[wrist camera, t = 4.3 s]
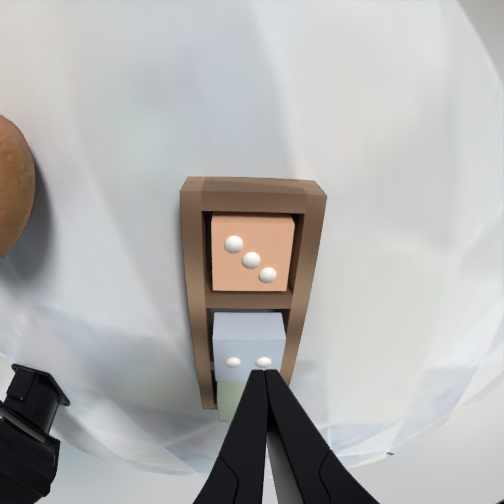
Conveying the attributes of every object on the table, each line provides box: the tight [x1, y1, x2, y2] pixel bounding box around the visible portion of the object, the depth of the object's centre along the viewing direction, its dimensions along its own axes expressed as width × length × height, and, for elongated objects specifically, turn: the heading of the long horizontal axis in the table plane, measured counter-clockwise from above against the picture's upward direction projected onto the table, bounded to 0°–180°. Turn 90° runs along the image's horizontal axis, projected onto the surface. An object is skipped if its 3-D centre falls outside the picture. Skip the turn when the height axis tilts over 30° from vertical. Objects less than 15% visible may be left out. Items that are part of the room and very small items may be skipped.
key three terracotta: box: [211, 211, 295, 291], centre depth 16 cm, size 4×4×2 cm
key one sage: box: [217, 381, 247, 422], centre depth 20 cm, size 4×4×2 cm
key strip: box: [180, 177, 327, 410], centre depth 19 cm, size 19×7×2 cm, turn 177°
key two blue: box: [213, 312, 286, 381], centre depth 17 cm, size 4×4×2 cm
